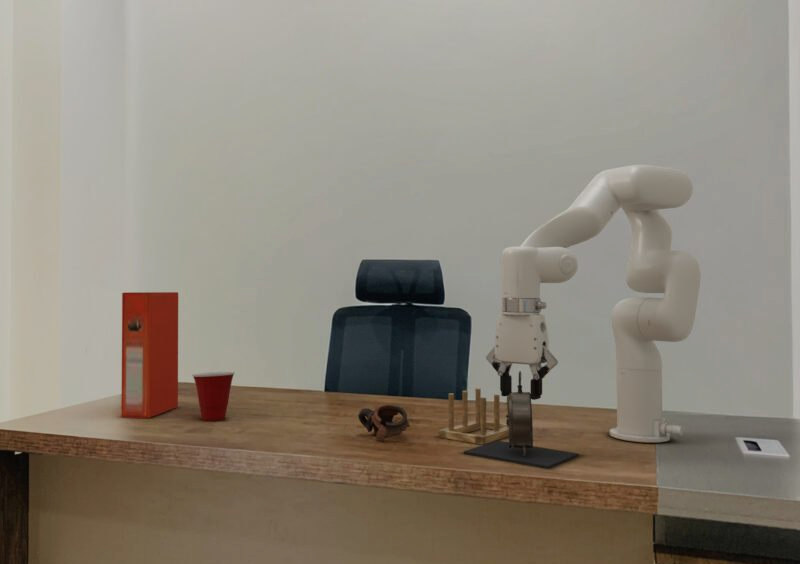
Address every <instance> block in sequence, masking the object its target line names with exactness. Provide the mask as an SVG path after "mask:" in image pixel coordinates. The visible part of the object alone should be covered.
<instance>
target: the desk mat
mask: <svg viewBox="0 0 800 564" xmlns="http://www.w3.org/2000/svg"><path fill="white" fill-rule="evenodd" d="M509 445H510V443H509V441H502V440H496V441H493V442H490V443H486V444H481V445H480V446H476V447H473V448H470V449H467V450H464V451H463V454H464V455H470V456H475V457H481V458H486V459H492V460H498V461H503V462H509V463H514V464H519V465H520V464H521V465H525V466H531V467H537V468H542V469H547V470H548V469H551V468H554V467H556V466H558V465H561V464H563V463H565V462H567V461H568V462H569V461H570V460H572V459H575V458H577V457H580V454H579V452H571V451H567V450H565V451H564V450H560V449H553V448H546V447H541V446H535V445H533V447H532V448H526V457H523V454H524V453H523V448H516V447H513V446H511V447H510V448H509ZM508 448H509V450H508Z"/></svg>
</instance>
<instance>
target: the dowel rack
mask: <svg viewBox="0 0 800 564" xmlns="http://www.w3.org/2000/svg"><path fill="white" fill-rule="evenodd" d="M461 392H462V393H461V395H462V397H461V399H462V404H461V405H462V406H461V407H462V408H461V410H462V411H461V412H462V416H461V417H462V418H461V419H462V421H461V422H462V424H458V425H455V394H454V393H448V427H446V428H443V429H438V438H441V439H447V440H454V441H459V442H466V443H471V444H478V445H485V444H489V443H492V442H495V441H500V440H502V439H505V438H509V426H508V425H507V424H506V423H503V422H500V421H501V420H500V418H501V417H500V416H501V415H500V413H501V412H500V411H501V409H500V408H501V407H500V403H501V402H500V401H501V399H500V398H501V397H500V396H501V395H500V394H499V393H497V394H496V393H494V394H493V421H489V420H487V397H486V396H481V395H482V390H481V388H479V387H476V388H475V420H472V421H469V419H468V417H469V415H468V414H469V413H468V409H469V408H468V405H469V398H468V397H469V396H468V395H469V394H468V393H469V392H468V390H462V391H461ZM507 398H508V396H506V403H508V400H507ZM506 415H508V404H506ZM507 419H508V417H506V420H507ZM487 429H488V430H491V431H487ZM478 430H480V434H473V433H471V432H475V431H478Z"/></svg>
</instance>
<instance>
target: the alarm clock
mask: <svg viewBox="0 0 800 564" xmlns="http://www.w3.org/2000/svg"><path fill="white" fill-rule="evenodd" d="M507 400H508V403H507V402H505V405H507V404H508V415H507V414H506V415H505V418H506V422H505V424H507V425H508V426H509V437H508V442H509V443H510V445H509V448H510V447H511V446H513V447H516V448H523V453H524V454H523V457H526V448H532V447H533V446H534V430H533V428H534V427H533V406H532V399H531V391H523V385H522V371H521V370H520V371H518V385H517V391H512V393H510V394H509V395H508V398H507V397H506V401H507ZM507 417H508V419H507ZM509 448H508V450H509Z"/></svg>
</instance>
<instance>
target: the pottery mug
mask: <svg viewBox="0 0 800 564" xmlns="http://www.w3.org/2000/svg"><path fill="white" fill-rule="evenodd" d="M399 414H400V416H401V417H402V419H401V420H400V421H397V422H393V420H394V417H395V416H398V415H399ZM357 417H358V420H359V422H360V423H361V425H362V426H363V427H365V428H366V430H367V432H368V433H371V432H372V431H373V434H374V435H375V434H376V439H377V440H379V441H381V442H383V441H384V440H385V439H386V438H389V437H392V436H397V435H401V434H403V432H405V431H406V430H407V428H410V423H409V420H408V413H407V412H406V411H405V409H404V408H403V407H401V406H399V405H396V404H392V403H384V404H383V403H382V404H380V405H378V406H376V408H374V410H372V409H371V408H366V407H365V408H362V409H360V410H359V412H358V415H357Z"/></svg>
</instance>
